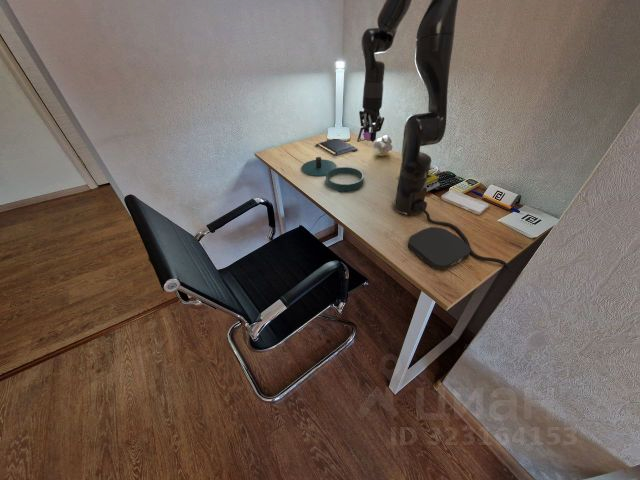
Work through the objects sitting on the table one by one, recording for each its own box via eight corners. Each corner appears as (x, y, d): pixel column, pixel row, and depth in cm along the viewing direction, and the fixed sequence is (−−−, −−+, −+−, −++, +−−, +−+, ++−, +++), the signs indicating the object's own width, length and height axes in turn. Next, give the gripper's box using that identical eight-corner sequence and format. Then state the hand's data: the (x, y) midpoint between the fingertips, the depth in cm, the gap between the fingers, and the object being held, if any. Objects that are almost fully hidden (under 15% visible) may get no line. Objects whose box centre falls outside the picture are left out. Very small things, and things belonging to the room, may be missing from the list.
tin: (370, 185, 112) (371, 177, 110) (338, 196, 107) (338, 188, 104) (349, 170, 123) (350, 163, 120) (319, 180, 117) (319, 173, 115)
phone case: (488, 207, 96) (450, 192, 105) (489, 204, 95) (451, 189, 104) (478, 215, 93) (440, 199, 102) (480, 212, 92) (440, 196, 101)
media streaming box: (435, 229, 88) (438, 222, 86) (473, 255, 78) (477, 248, 76) (402, 244, 83) (403, 237, 81) (438, 274, 73) (440, 267, 71)
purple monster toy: (377, 122, 110) (359, 126, 107) (384, 130, 107) (366, 134, 105) (373, 136, 115) (356, 140, 113) (379, 143, 113) (362, 148, 110)
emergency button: (427, 182, 103) (399, 169, 112) (425, 192, 106) (398, 178, 115) (443, 175, 106) (414, 163, 116) (440, 185, 109) (412, 172, 119)
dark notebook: (358, 147, 139) (334, 154, 133) (358, 150, 140) (334, 157, 135) (337, 136, 152) (315, 142, 147) (337, 139, 153) (315, 145, 148)
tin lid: (343, 171, 123) (343, 160, 119) (311, 181, 117) (310, 169, 114) (325, 158, 134) (325, 147, 131) (295, 167, 129) (294, 156, 125)
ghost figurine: (386, 160, 129) (388, 140, 122) (369, 156, 133) (370, 137, 127) (394, 154, 134) (397, 134, 127) (377, 150, 139) (379, 131, 132)
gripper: (354, 92, 103) (352, 136, 115) (376, 99, 94) (372, 146, 105) (369, 89, 106) (366, 132, 117) (392, 96, 96) (387, 142, 108)
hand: (369, 139), depth 111 cm, fingers closed on purple monster toy, 4 cm apart
